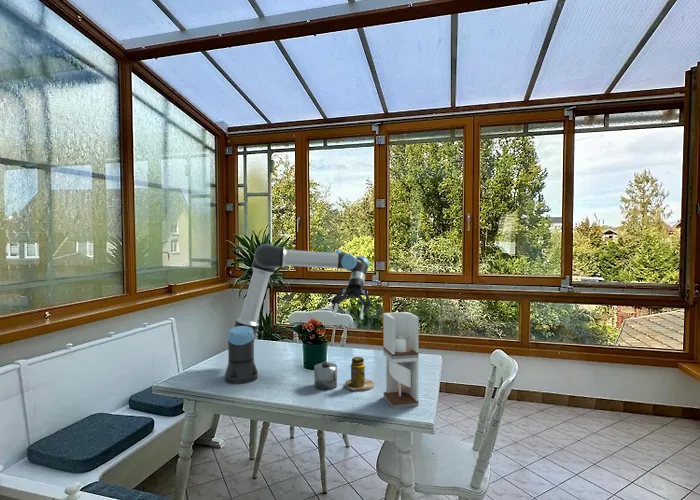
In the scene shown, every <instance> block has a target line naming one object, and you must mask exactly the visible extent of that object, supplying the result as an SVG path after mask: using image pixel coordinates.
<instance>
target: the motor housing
mask: <svg viewBox="0 0 700 500" xmlns="http://www.w3.org/2000/svg"><path fill="white" fill-rule="evenodd" d="M313 370H314V371H313V372H314V384H313V385H314V389H316V390H318V391H323V392H324V391H327V392H328V391H333V390H334V389H337V387H338V365H337V364H336V363H333V362H329V361H323V362H320V363H317V364H314V369H313Z"/></svg>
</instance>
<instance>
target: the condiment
mask: <svg viewBox="0 0 700 500" xmlns="http://www.w3.org/2000/svg"><path fill="white" fill-rule="evenodd" d="M364 360H365V359H364V358H363V357H362V356H361V357H360V356H354V357H352V358H351V365H350V379H351V383H348V384H345V383H343V385H344V387H345V386H347V387H348V388H350V389H352V390H351V391H353V390H354V389H358V388H363V387H367V386H368V385H366V384H365V379H366V377H365V375H366V373H365V372H366V371H365V370H366V369H365V368H366V367H365V361H364Z"/></svg>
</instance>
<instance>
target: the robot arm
mask: <svg viewBox="0 0 700 500" xmlns="http://www.w3.org/2000/svg"><path fill="white" fill-rule="evenodd" d="M253 256H254V257H253V261H252V264H251V269H252V270H253V271H252V276H251V279H250V282H249V285H248V288H247V292H246V296H245V300H244V303H243V305H242V310H241V313H240V316H239V317H237V318H236V320H235V322H234V325H233V327H232V328H230V329H229V330H228V334H227V343H228V344H227V345H228V346H227V348H228V349H227V351H228V354H227V355H228V356H227V357H228V358H227V359H228V362H227V363H228V364H227V366H226V369H225V373H224V381H225V382H226V383H228V384H234V383H239V384H246V383H251V382H253V381H256V380H257V379H258V378H259V371H258V368H257V366H256V362H255V340H256V338H257V332H258V329H259V326H260V324H259V322H258V319H259V316H260V313H261V309H262V305H263V301H264V298H265V295H266V293H267V292H266V291H267V287H268V284H269V280H270V277H271V275H273V274H275V271H276V268H282V269H283V268H284V267H285V266H287V267H289V266H290V267H307V268H323V269H325V268H326V269H340V270H341V269H342V270H347V271H348V272H351V275H350V277H349V281H348V284H347V287H346V288H344V287H340V289H339V291H338V292H337V293H336V294H335V295H334V296H333V298H331V300H330V303H331V305H332V316H333V318H336V315H337V313H338V309H339V305H340V304H341V303H342V302H344V301H345V300H347V299H349V298H350V299H356V298H358V300H359V301H360V302H361V304H362V305H361V309H360V313H359V318H360V320H363V318H364V314H366V313H367V309H368V308H371V307H372V304H371V303H372V302H371V301H370V298H369V291H368V289H367V288H365V289H364V286H365V280H366V275H367V273H368V269H369V265H370V261H369V259H368V258H367V257H365V256H361V255H359V256H356V257H355V256H354V255H353V254H352V253H346V252H345V251H343V250H340V249H336V250H335V251H334V252H325V251H312V250H311V251H310V250H297V249H286V248H285V247H282V246H276V245H274V244H272V243H263V244H260V245H259V246H258V247H257V248H255V251H254V255H253ZM363 289H364V290H363ZM362 294H363V295H364V296H365V299H366V301H365V299H364V298H363V297H362Z"/></svg>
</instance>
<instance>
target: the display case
mask: <svg viewBox="0 0 700 500" xmlns="http://www.w3.org/2000/svg"><path fill="white" fill-rule="evenodd" d="M382 316H383V324H382V325H383V330H382V331H383V334H382V335H383V356H385V365H386V366H385V378H386V379H385V380H386V381H385V384H386V386H385V390H386V391H385V392H384V391H383V399H385V401H386V402H387V403H388V405H390V407H391V409H401V408H410V407H418V406H419V332H420V331H419V328H420V327H419V316H417V315H415V314H413V313H410V312H408V311H401V312H399V311H398V312H396V311H395V312H383V315H382Z"/></svg>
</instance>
